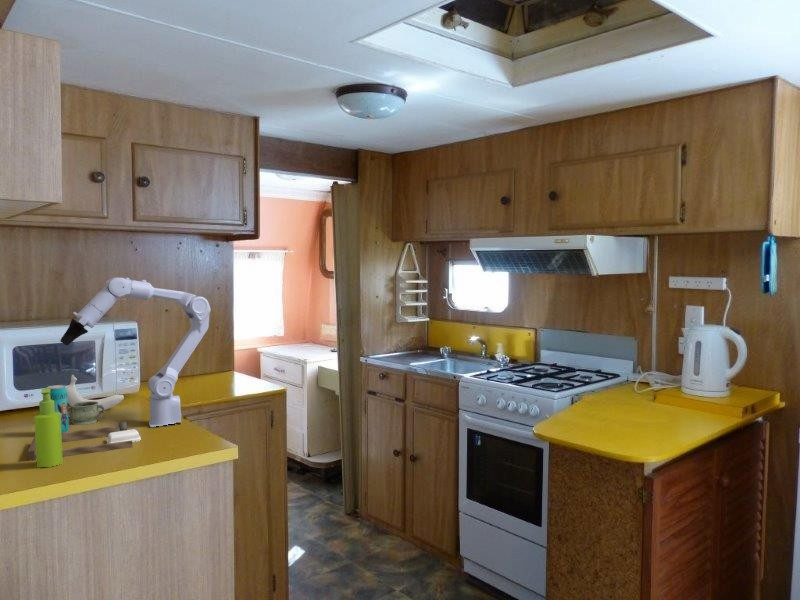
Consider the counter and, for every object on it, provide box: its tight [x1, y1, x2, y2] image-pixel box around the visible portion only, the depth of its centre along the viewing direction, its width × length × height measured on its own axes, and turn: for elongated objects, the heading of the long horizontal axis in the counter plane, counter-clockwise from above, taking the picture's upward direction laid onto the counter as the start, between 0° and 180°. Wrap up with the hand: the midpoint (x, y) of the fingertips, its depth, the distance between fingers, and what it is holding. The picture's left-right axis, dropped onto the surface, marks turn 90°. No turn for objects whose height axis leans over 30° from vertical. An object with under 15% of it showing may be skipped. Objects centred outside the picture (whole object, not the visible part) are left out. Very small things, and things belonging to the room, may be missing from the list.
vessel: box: [68, 401, 105, 426], centre depth 207 cm, size 12×9×6 cm
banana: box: [66, 374, 125, 412], centre depth 222 cm, size 5×19×15 cm, turn 120°
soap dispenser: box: [34, 387, 64, 468], centre depth 160 cm, size 6×7×20 cm
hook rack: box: [27, 421, 133, 461], centre depth 178 cm, size 26×19×4 cm
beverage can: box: [46, 384, 70, 433], centre depth 191 cm, size 6×6×15 cm
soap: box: [106, 428, 142, 444], centre depth 182 cm, size 9×7×3 cm
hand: (63, 343), depth 185 cm, fingers open, 7 cm apart
